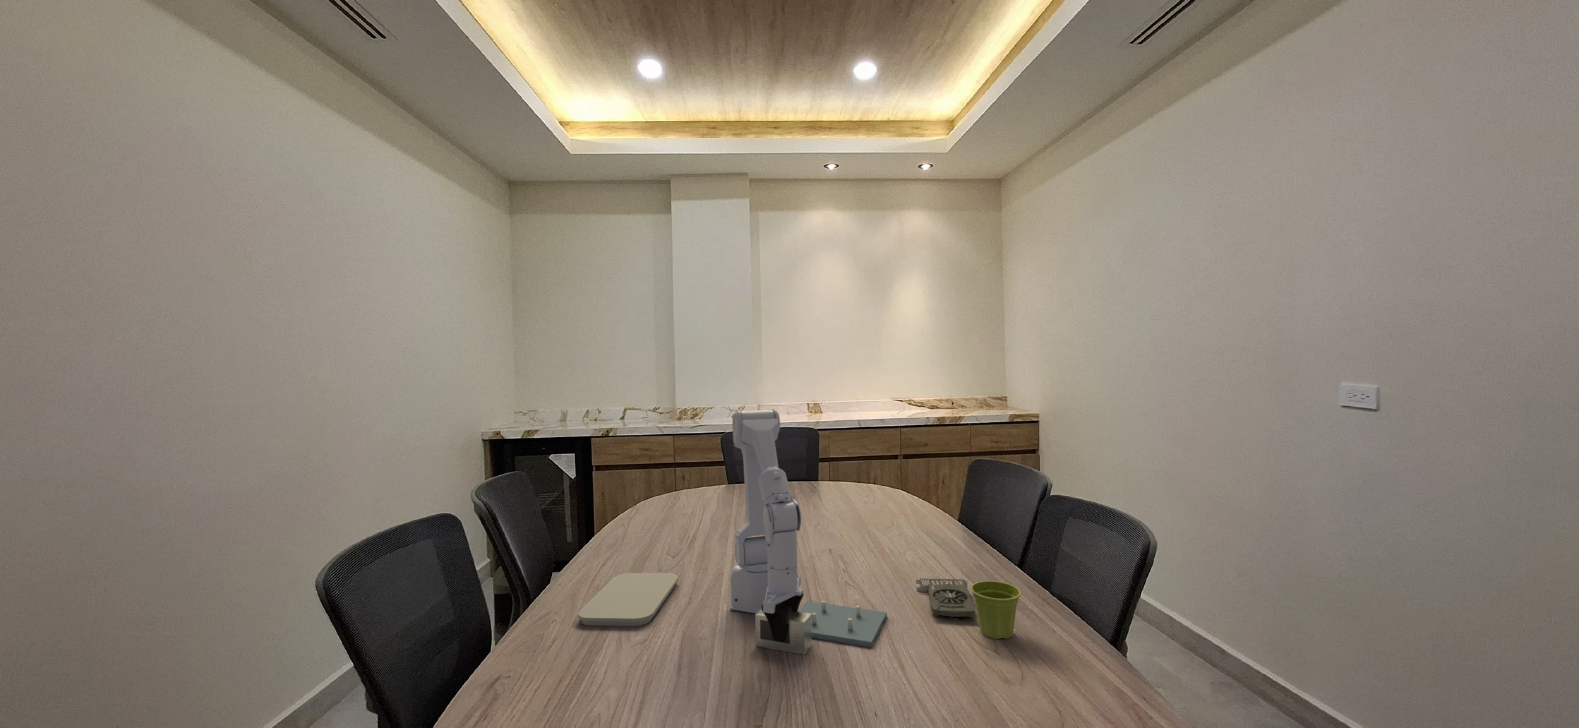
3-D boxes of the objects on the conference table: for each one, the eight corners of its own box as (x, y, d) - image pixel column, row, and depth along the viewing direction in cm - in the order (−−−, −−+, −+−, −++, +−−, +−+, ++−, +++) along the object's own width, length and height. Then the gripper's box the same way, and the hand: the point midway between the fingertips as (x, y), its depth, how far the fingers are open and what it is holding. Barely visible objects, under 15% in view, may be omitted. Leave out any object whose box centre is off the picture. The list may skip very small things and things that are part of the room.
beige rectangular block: (755, 646, 111) (755, 614, 111) (764, 636, 115) (763, 606, 115) (804, 654, 107) (804, 622, 107) (811, 644, 111) (811, 613, 111)
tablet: (573, 628, 121) (572, 617, 121) (618, 581, 147) (618, 572, 147) (648, 629, 120) (648, 618, 120) (681, 582, 146) (681, 573, 146)
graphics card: (915, 576, 138) (968, 577, 136) (916, 592, 138) (968, 593, 136) (918, 606, 121) (978, 608, 119) (919, 624, 121) (979, 626, 119)
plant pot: (1010, 649, 108) (1009, 602, 108) (963, 634, 115) (962, 590, 115) (1029, 631, 115) (1028, 588, 115) (983, 618, 122) (982, 577, 122)
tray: (783, 632, 117) (783, 617, 117) (807, 605, 130) (806, 591, 130) (871, 647, 110) (871, 631, 110) (886, 616, 123) (886, 602, 123)
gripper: (788, 580, 103) (789, 656, 103) (814, 555, 116) (815, 622, 116) (752, 576, 106) (753, 650, 106) (781, 551, 119) (783, 617, 119)
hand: (783, 635), depth 111 cm, fingers closed on beige rectangular block, 4 cm apart
